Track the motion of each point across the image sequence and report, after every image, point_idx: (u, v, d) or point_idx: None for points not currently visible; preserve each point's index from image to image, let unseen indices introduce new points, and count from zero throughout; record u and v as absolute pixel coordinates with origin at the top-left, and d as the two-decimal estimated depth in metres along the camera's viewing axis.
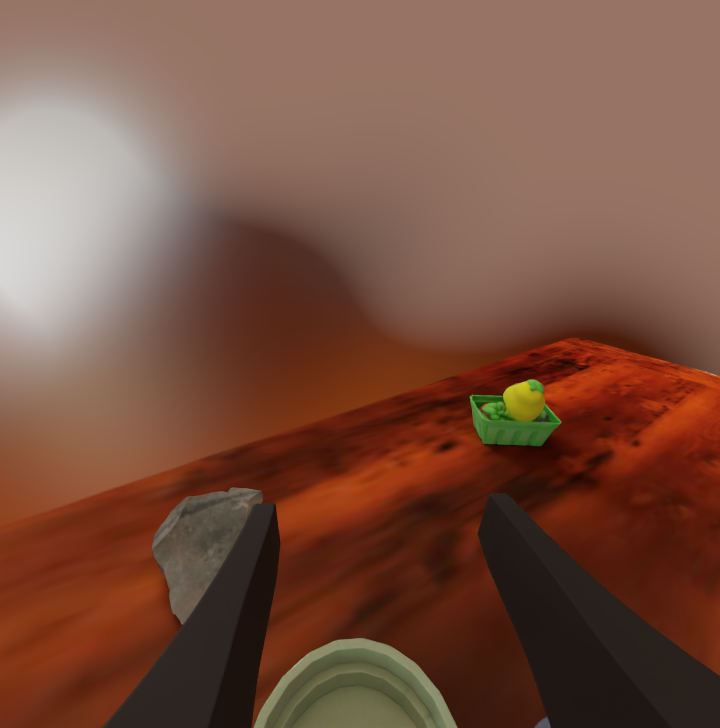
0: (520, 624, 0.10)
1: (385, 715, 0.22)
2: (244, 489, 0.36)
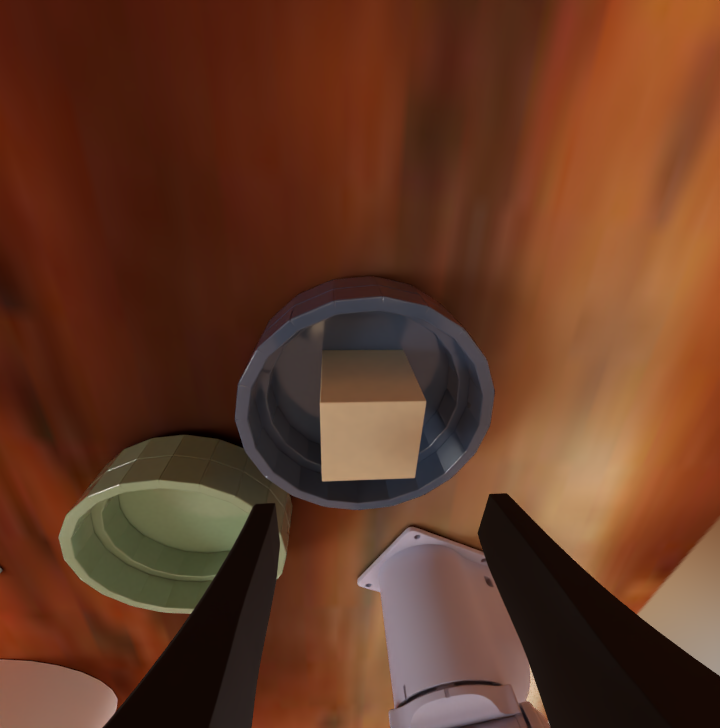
0: (520, 624, 0.10)
1: None
2: None
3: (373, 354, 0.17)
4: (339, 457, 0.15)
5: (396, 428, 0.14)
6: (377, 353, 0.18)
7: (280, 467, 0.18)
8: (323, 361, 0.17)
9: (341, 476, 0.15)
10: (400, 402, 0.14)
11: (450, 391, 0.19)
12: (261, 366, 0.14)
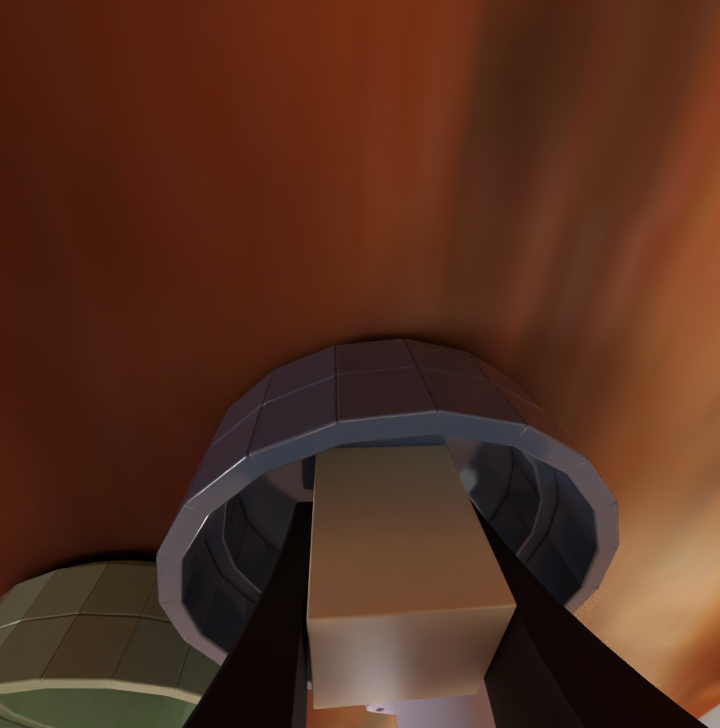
0: None
1: None
2: None
3: (399, 458, 0.11)
4: (344, 682, 0.08)
5: (452, 642, 0.08)
6: (405, 455, 0.11)
7: None
8: (317, 479, 0.10)
9: (348, 702, 0.09)
10: (467, 610, 0.07)
11: (517, 504, 0.12)
12: (197, 529, 0.07)
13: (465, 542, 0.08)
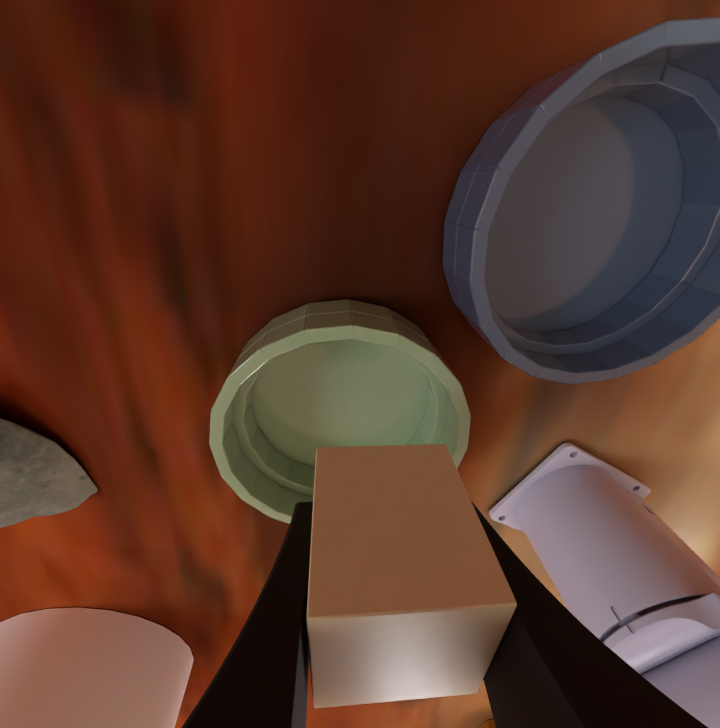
0: None
1: (309, 347, 0.17)
2: None
3: (400, 457, 0.11)
4: (345, 681, 0.08)
5: (453, 641, 0.07)
6: (405, 454, 0.11)
7: None
8: (317, 478, 0.10)
9: (348, 701, 0.09)
10: (467, 609, 0.07)
11: (683, 238, 0.15)
12: (535, 137, 0.11)
13: (465, 541, 0.08)
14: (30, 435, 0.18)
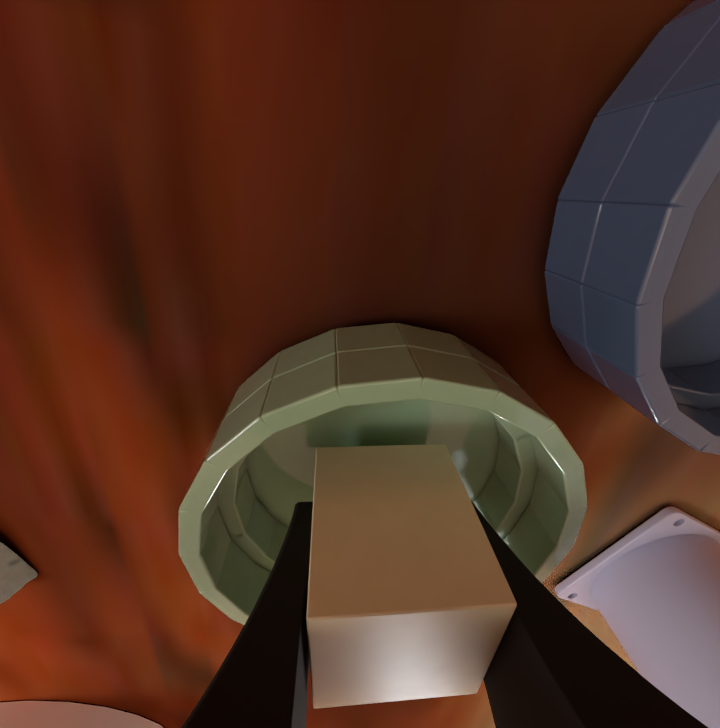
0: None
1: None
2: None
3: (399, 457, 0.11)
4: (344, 681, 0.08)
5: (453, 642, 0.07)
6: (405, 454, 0.11)
7: None
8: (317, 478, 0.10)
9: (348, 701, 0.09)
10: (467, 608, 0.07)
11: None
12: None
13: (465, 541, 0.08)
14: None
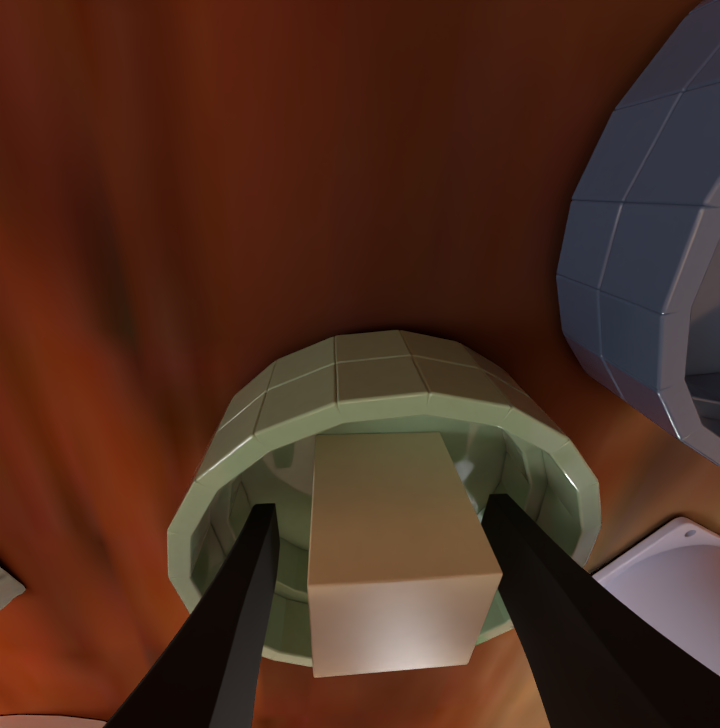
0: (520, 624, 0.10)
1: None
2: None
3: (395, 444, 0.11)
4: (342, 650, 0.09)
5: (444, 610, 0.08)
6: (401, 441, 0.11)
7: None
8: (316, 462, 0.10)
9: (346, 671, 0.09)
10: (456, 578, 0.07)
11: None
12: None
13: (456, 518, 0.09)
14: None
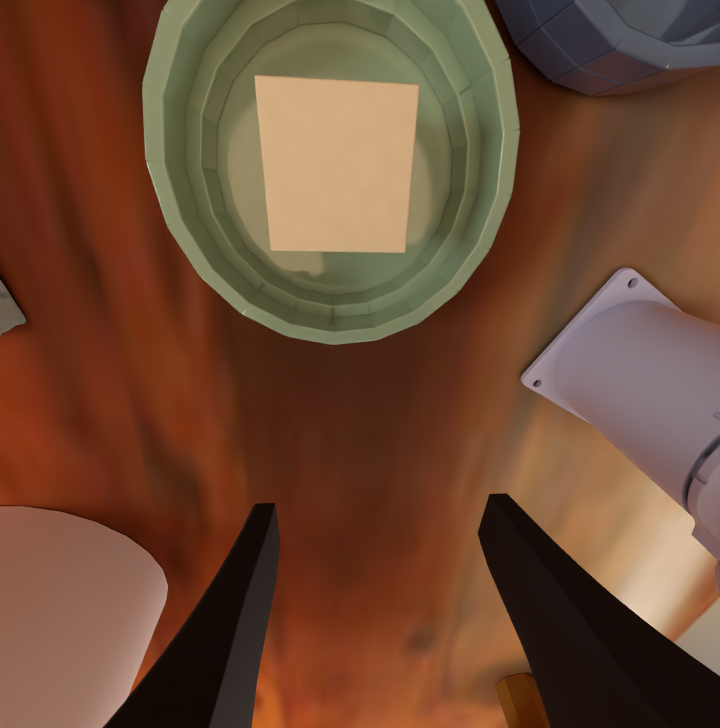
0: (520, 624, 0.10)
1: (292, 69, 0.12)
2: None
3: None
4: (292, 200, 0.10)
5: (374, 143, 0.10)
6: None
7: None
8: None
9: (298, 241, 0.11)
10: (379, 83, 0.09)
11: None
12: None
13: None
14: None
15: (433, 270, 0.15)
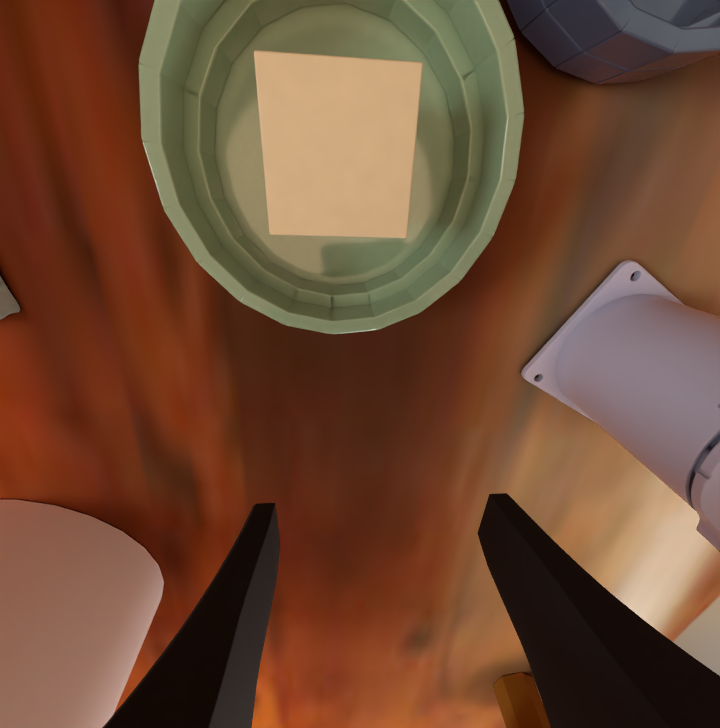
0: (520, 624, 0.10)
1: (292, 52, 0.12)
2: None
3: None
4: (291, 182, 0.10)
5: (376, 123, 0.09)
6: None
7: None
8: None
9: (297, 225, 0.10)
10: (382, 61, 0.09)
11: None
12: None
13: None
14: None
15: (434, 260, 0.14)
